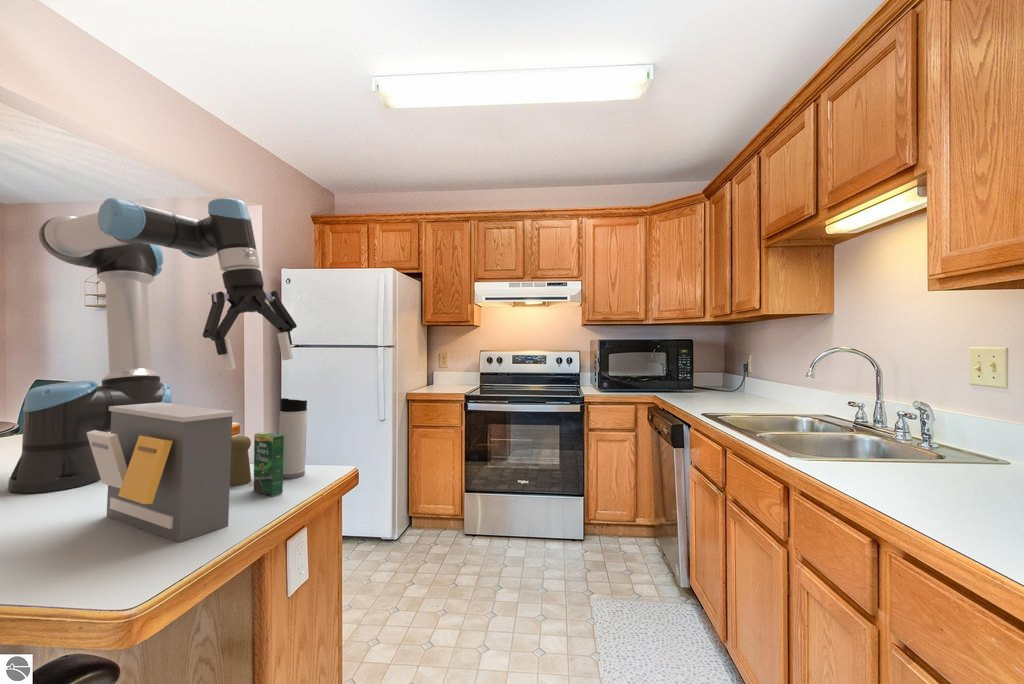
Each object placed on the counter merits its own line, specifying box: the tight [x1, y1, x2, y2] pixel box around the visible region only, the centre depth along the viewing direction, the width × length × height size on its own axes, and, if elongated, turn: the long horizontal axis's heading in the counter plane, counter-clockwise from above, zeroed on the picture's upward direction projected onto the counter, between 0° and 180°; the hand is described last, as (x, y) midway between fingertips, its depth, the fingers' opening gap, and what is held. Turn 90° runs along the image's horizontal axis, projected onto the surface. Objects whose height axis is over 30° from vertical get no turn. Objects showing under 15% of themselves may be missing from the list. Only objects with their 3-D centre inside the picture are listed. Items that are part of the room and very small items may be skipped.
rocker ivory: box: [87, 430, 127, 489], centre depth 78 cm, size 2×8×10 cm, turn 64°
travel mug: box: [278, 397, 308, 480], centre depth 112 cm, size 6×7×20 cm
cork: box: [230, 435, 252, 487], centre depth 105 cm, size 6×6×11 cm
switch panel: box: [106, 402, 236, 543], centre depth 81 cm, size 9×25×21 cm, turn 64°
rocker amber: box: [118, 435, 173, 504], centre depth 73 cm, size 1×8×10 cm, turn 64°
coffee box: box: [253, 431, 284, 497], centre depth 99 cm, size 8×3×13 cm, turn 57°
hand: (260, 364), depth 98 cm, fingers open, 13 cm apart
